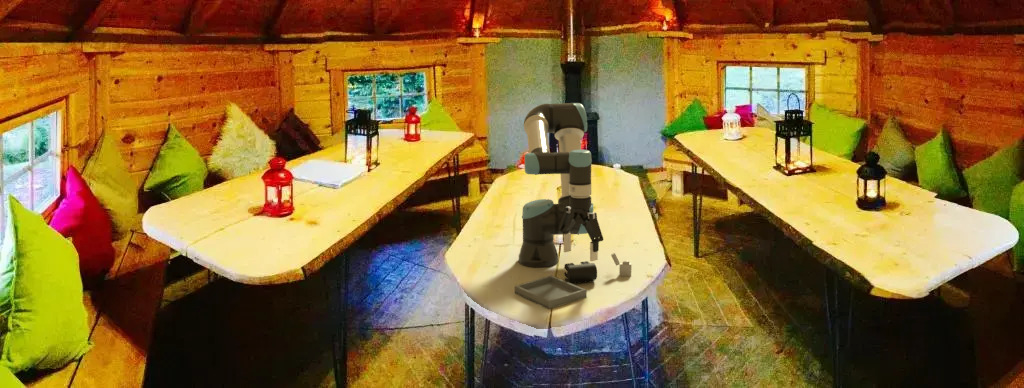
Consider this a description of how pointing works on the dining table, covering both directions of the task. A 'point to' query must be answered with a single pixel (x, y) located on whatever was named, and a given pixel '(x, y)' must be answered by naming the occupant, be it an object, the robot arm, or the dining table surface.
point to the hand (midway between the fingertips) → (580, 255)
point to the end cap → (580, 272)
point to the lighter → (622, 266)
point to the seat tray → (550, 292)
